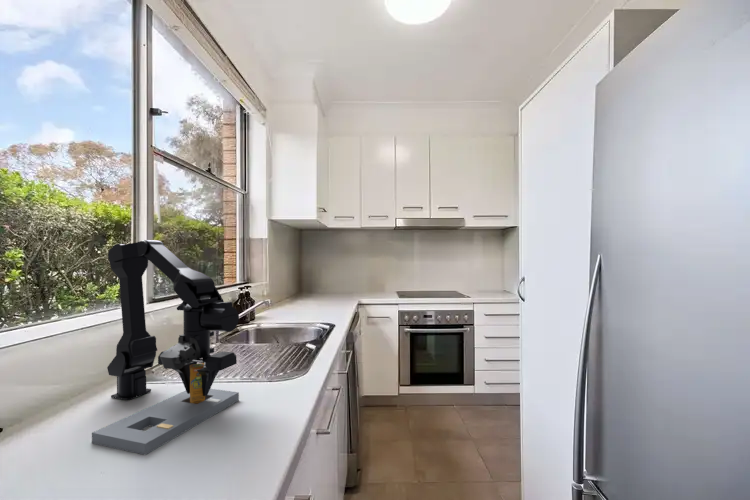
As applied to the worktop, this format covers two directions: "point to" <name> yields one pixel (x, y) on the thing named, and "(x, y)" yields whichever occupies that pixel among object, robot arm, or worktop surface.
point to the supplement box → (196, 384)
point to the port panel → (162, 421)
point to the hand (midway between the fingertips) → (197, 394)
